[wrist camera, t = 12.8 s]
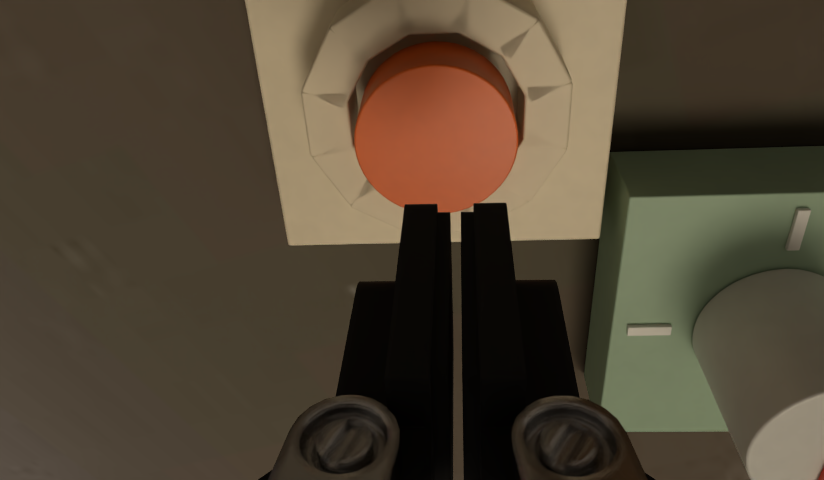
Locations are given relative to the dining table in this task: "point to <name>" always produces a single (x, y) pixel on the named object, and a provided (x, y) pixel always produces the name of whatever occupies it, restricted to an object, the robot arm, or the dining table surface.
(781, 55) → the dining table surface
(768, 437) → the timer dial
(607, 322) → the dial panel
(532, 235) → the housing
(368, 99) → the button
